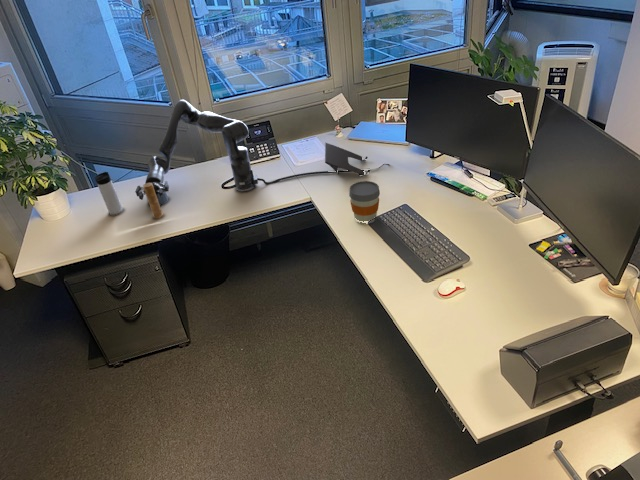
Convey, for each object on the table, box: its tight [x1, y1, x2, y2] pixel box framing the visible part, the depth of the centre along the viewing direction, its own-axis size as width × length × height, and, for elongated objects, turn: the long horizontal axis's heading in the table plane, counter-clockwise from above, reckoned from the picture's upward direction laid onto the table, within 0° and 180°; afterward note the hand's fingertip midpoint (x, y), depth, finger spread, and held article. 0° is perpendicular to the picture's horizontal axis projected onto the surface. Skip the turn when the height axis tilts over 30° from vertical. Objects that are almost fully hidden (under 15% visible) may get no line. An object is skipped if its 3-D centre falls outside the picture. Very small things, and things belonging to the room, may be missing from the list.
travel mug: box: [94, 171, 124, 216], centre depth 216 cm, size 6×7×20 cm
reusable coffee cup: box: [348, 180, 381, 226], centre depth 193 cm, size 13×12×15 cm
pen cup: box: [146, 186, 169, 206], centre depth 225 cm, size 9×9×6 cm
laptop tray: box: [324, 142, 371, 176], centre depth 234 cm, size 23×23×9 cm
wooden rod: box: [142, 183, 164, 219], centre depth 210 cm, size 4×4×17 cm
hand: (150, 196), depth 206 cm, fingers open, 8 cm apart
